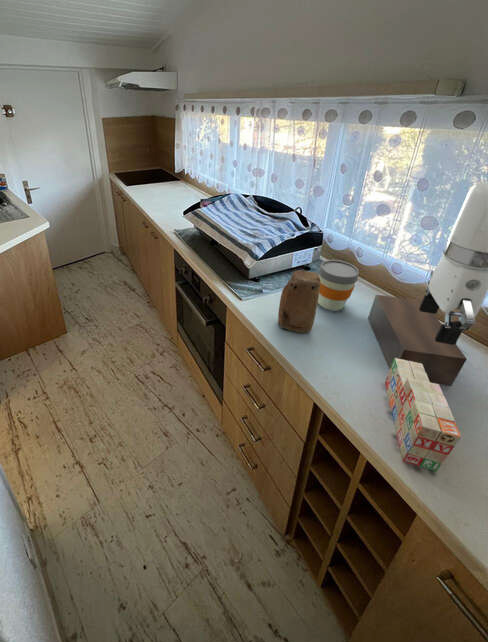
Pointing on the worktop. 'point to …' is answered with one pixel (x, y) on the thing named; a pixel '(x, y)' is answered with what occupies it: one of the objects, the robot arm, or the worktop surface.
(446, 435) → the stack of blocks
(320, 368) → the worktop surface
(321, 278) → the reusable coffee cup
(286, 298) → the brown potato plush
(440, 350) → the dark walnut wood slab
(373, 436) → the worktop surface
